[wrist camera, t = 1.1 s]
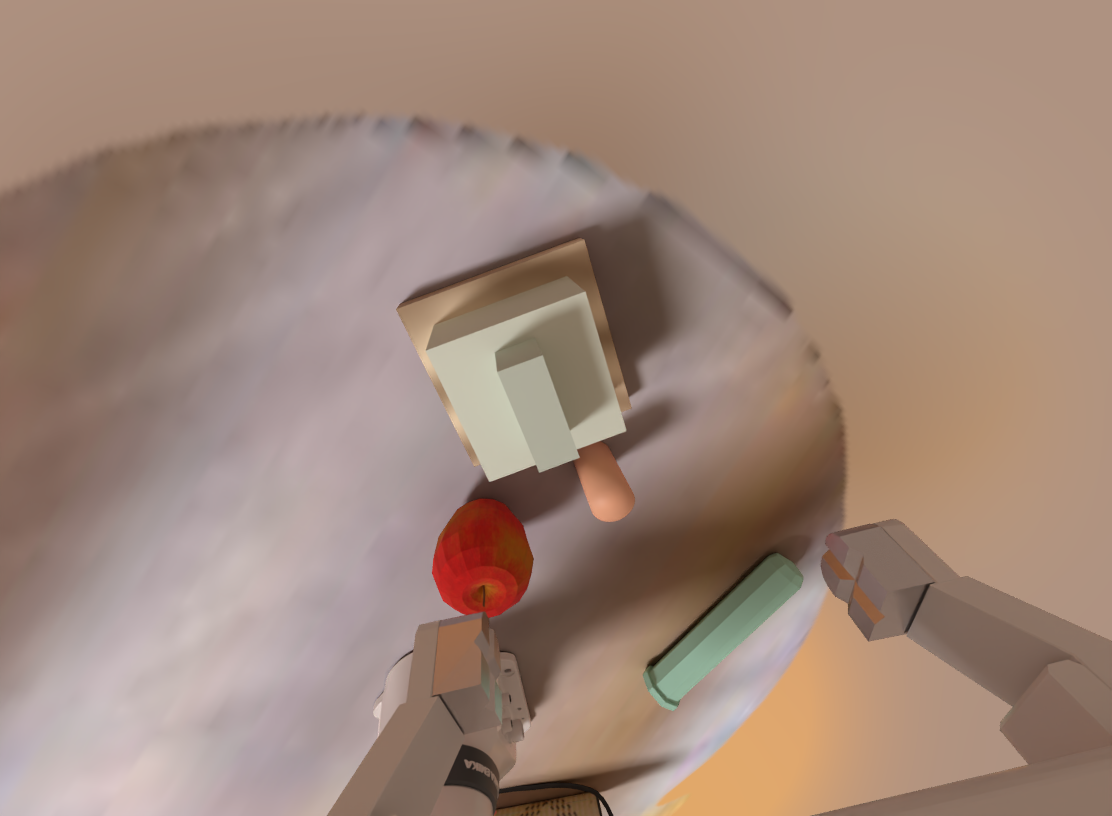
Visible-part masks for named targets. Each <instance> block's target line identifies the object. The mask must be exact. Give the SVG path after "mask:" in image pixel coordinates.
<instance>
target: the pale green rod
mask: <svg viewBox="0 0 1112 816" xmlns="http://www.w3.org/2000/svg"><path fill="white" fill-rule="evenodd" d="M802 582H803V575H802V574H801V572H800V571H799V570H798V568H797V567H796V566H795V564H794V563H793V562H792V561H790V560H788V559H787V558H785V557H783V556H782V555H780V554H779V553H774V554H772V555H769V556H768V557H767V558H766V559H764V560H763V561H762V562H761V563H760V564H759V565H758V566H757V567H756V568H755V569H754V570H753V571H752V572H751V573H750V574H749V575H748V576H747V577H746V578H745V579H744V580H743V581H742V582H741V583H739V584H738V585H737V586H736V587H735V588H734V589H733V590H732V591H731V592H730V593H729V594H728V595H727V596H726V597H725V598H724V599H723V600H722V601H721V602H720V603H719V604H718V605H717V606H716V607H714V608H713V609H712V610H711V611H710V612H709V613H708V614H707V615H706V616H705V617H704V618H703V619H702V620H701V621H700V622H699V623H698V624H697V625H696V626H695V627H694V628H693V629H692V630H691V631H690V632H689V633H687V634H686V635H685V636H684V637H683V638H682V639H681V640H680V641H679V642H678V643H677V644H676V645H675V646H674V647H673V648H672V649H671V650H670V651H669V652H668V653H667V654H666V655H665V656H664V657H663V658H662V659H661V660H660V661H659V662H657V663H656V664H655V665H654V666H651V665H650V666H649V667H648V668H647V669H646V670H645V672H644V674H643V678H644V680H645V683H646V686H647V689H648V691H649V692H650V694H651V695H652V696H653V697H654V698H655V699H656V701H657V702H658V703H659V704H660V705H661V707H664V708H667V709H669V710H672V711H674V710H675V709H676V708H677V707H678V705H679V702H680V699H681V698H682V697H683V696H684V695H685V694H686V693H687V692H689V691H690V690H691V689H692V688H693V687H694V686H695V685H696V684H697V683H698V682H699V681H700V680H702V679H703V678H704V677H705V676H706V675H707V674H708V673H709V672H710V671H711V670H712V669H713V668H715V667H716V666H717V665H718V664H719V663H720V662H721V661H722V660H723V659H724V658H725V657H726V656H728V655H729V654H730V653H731V652H732V651H733V650H734V649H735V648H736V647H737V646H738V645H739V644H741V643H742V642H743V641H744V640H745V639H746V638H747V637H748V636H749V635H750V634H751V633H752V632H753V631H755V630H756V629H757V628H758V627H759V626H760V625H761V624H762V623H763V622H764V621H765V620H766V619H768V618H769V617H770V616H771V615H772V614H773V613H774V612H775V611H776V610H777V609H778V608H779V607H781V606H782V605H783V604H784V603H785V602H786V601H787V600H788V599H789V598H790V597H791V596H792V595H794V594H795V593H796V592H797V591H798V590H799V589H800V588H801V585H802Z"/></svg>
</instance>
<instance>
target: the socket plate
mask: <svg viewBox="0 0 1112 816" xmlns="http://www.w3.org/2000/svg"><path fill="white" fill-rule="evenodd" d="M565 276H567V277H569V278H570V279H571V280H572V281H573V282H575V283H576V284H577V285H578V286H579V287H581V288H582V289H583V290H584V291H585V292H586V295H587V298H588V302H589V305H590V309H591V312H592V315H593V319H594V322H595V326H596V329H597V332H598V336H599V339H600V343H601V346H602V349H603V353H604V356H605V360H606V363H607V366H608V370H609V373H610V377H611V380H612V383H613V387H614V390H615V394H616V397H617V400H618V404H619V407H620V411H621V412H623V411H626V410H628V409H631V404H630V400H629V397H628V393H627V390H626V386H625V383H624V379H623V375H622V372H621V368H620V365H619V361H618V358H617V354H616V351H615V347H614V343H613V340H612V336H611V333H610V329H609V326H608V322H607V318H606V315H605V311H604V308H603V304H602V301H601V297H600V293H599V290H598V286H597V283H596V279H595V276H594V272H593V269H592V265H591V261H590V258H589V254H588V251H587V247H586V244H585V240H584V239H581V238H577V239H575V240H572V241H569V242H566V243H564V244H561V245H558V246H556V247H553V248H550V249H547V250H545V251H542V252H539V253H537V254H534V255H531V256H529V257H526V258H523V259H520V260H518V261H515V262H512V263H510V264H507V265H504V266H501V267H499V268H496V269H493V270H491V271H488V272H485V273H483V274H480V275H477V276H474V277H472V278H469V279H466V280H464V281H461V282H458V283H455V284H453V285H450V286H447V287H445V288H442V289H439V290H437V291H434V292H431V293H428V294H426V295H423V296H420V297H418V298H415V299H412V300H409V301H407V302H404V303H401V304H400V305H399V306H398V307H397V309H396V310H397V312H398V314H399V316H400V318H401V320H402V322H403V324H404V326H405V328H406V330H407V332H408V334H409V336H410V338H411V340H412V342H413V344H414V346H415V348H416V350H417V352H418V354H419V356H420V358H421V360H422V362H423V364H424V366H425V368H426V370H427V372H428V374H429V376H430V378H431V380H432V382H433V384H434V387H435V389H436V391H437V393H438V395H439V397H440V399H441V401H442V403H443V405H444V407H445V409H446V411H447V413H448V415H449V417H450V419H451V421H452V423H453V425H454V427H455V429H456V431H457V433H458V435H459V437H460V439H461V441H462V443H463V445H464V447H465V449H466V451H467V453H468V455H469V457H470V459H471V461H472V463H473V465H474V467H475V466H478V465H481V464H480V462H479V460H478V457H477V455H476V453H475V451H474V449H473V447H472V445H471V443H470V441H469V439H468V437H467V435H466V433H465V431H464V429H463V427H462V425H461V423H460V421H459V419H458V416H457V414H456V412H455V410H454V408H453V406H452V404H451V402H450V400H449V398H448V396H447V394H446V392H445V390H444V388H443V386H442V384H441V382H440V380H439V377H438V375H437V373H436V371H435V369H434V367H433V365H432V363H431V361H430V359H429V357H428V355H427V353H426V348H427V345H428V342H429V339H430V336H431V332H432V329H433V326H434V325H436V324H438V323H441V322H444V321H446V320H449V319H452V318H455V317H457V316H460V315H463V314H465V313H468V312H471V311H473V310H476V309H479V308H482V307H484V306H487V305H490V304H492V303H495V302H498V301H500V300H503V299H506V298H509V297H511V296H514V295H517V294H519V293H522V292H525V291H528V290H530V289H533V288H536V287H538V286H541V285H544V284H546V283H549V282H552V281H555V280H557V279H560V278H563V277H565Z"/></svg>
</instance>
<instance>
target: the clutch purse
mask: <svg viewBox="0 0 1112 816" xmlns="http://www.w3.org/2000/svg"><path fill="white" fill-rule="evenodd" d="M545 788H572V789H578V790H583V791H586V792H589V793H584V794H579V795H573V796H568V797H563V798H557V799H552V800H547V801H541V802H536V803H531V804H525V805H520V806H515V807H509V808H504V809H499V810H496V811H497V814H495V815H494V816H602V812H601V807H600V803H599V800H600V801H601V802H602V804H603V805H604V807H605V808H606V810H607V812H608V815H609V816H613V814H612V812H611V809H610V807H609V805H608V804H607V802H606V801H605V799H604V798H603V797H602V795H601V794H600V793H599V792H598V791H596V790H594V789H592V788H590V787H587V786H583V785H578V784H572V783H546V784H536V785H526V786H515V787H509V788H504V789H499V794H500V793H506V792H513V791H526V790H536V789H545Z"/></svg>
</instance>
